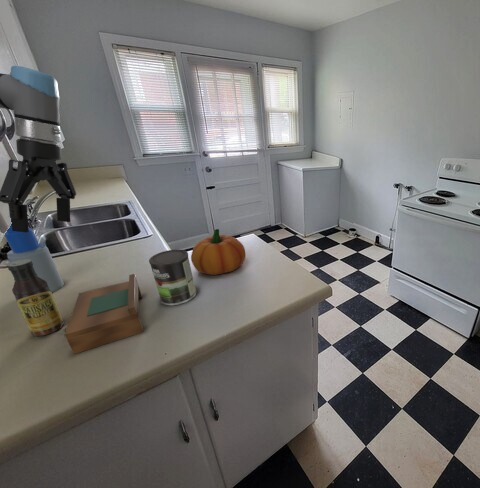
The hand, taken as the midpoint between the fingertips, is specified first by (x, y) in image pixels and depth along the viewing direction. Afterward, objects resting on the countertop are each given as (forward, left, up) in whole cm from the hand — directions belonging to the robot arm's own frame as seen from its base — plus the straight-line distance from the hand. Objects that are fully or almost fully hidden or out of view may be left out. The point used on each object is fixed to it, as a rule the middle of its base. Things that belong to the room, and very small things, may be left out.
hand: (44, 226), depth 70 cm
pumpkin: (+42, +3, -26) cm, 49 cm away
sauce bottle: (-5, -8, -26) cm, 28 cm away
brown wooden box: (+9, -13, -26) cm, 30 cm away
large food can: (+26, -10, -26) cm, 38 cm away
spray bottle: (-11, +19, -26) cm, 34 cm away
